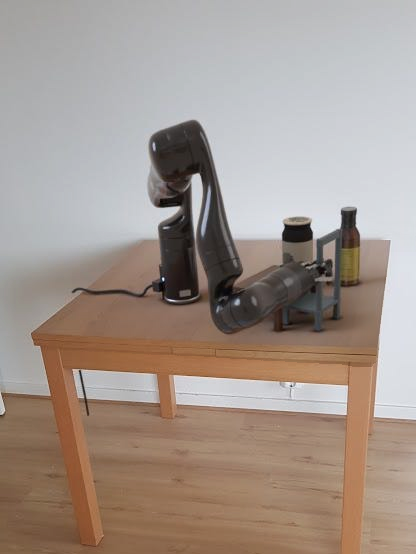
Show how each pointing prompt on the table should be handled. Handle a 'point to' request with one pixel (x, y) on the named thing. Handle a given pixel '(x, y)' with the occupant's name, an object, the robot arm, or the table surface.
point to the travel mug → (297, 240)
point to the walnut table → (251, 280)
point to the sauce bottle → (349, 247)
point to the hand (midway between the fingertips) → (326, 262)
